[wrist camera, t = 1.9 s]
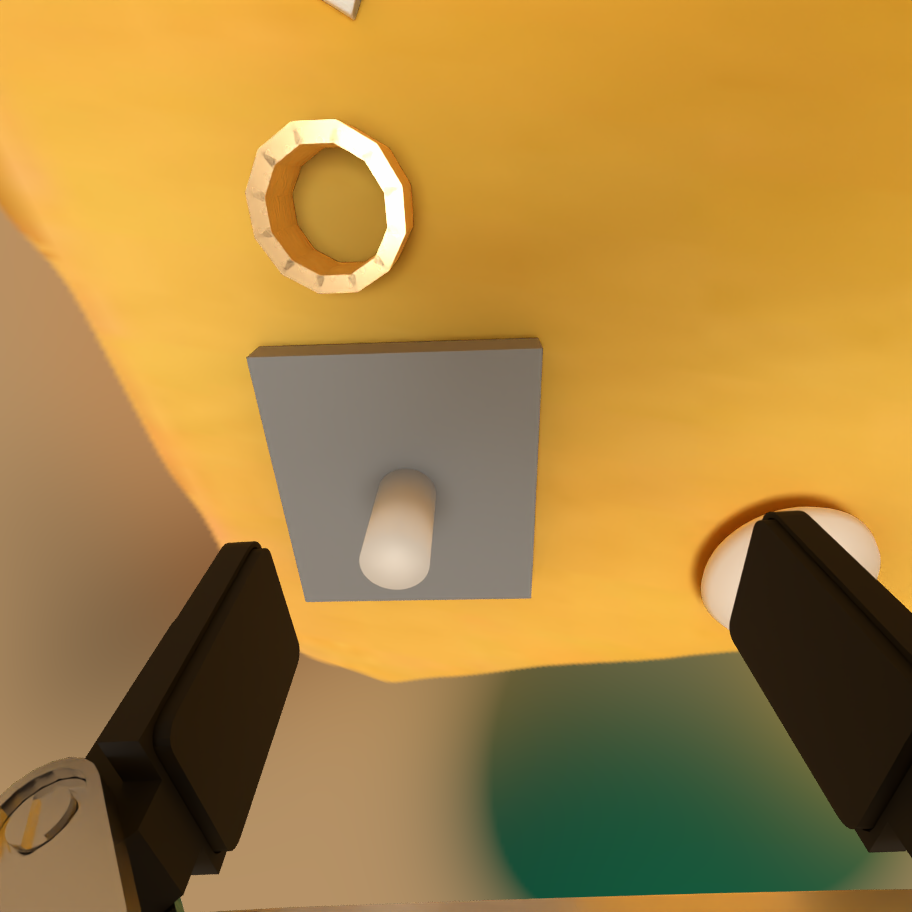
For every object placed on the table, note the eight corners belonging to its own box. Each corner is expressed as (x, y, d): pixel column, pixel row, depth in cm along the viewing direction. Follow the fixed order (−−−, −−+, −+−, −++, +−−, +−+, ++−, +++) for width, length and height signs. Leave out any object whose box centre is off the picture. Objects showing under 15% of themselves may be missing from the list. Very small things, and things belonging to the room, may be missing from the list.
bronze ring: (264, 131, 24) (230, 123, 21) (406, 124, 24) (396, 116, 20) (291, 280, 28) (266, 295, 24) (417, 275, 27) (410, 290, 24)
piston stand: (259, 346, 29) (189, 405, 22) (538, 337, 29) (563, 394, 21) (313, 582, 38) (276, 681, 31) (527, 578, 38) (543, 678, 30)
